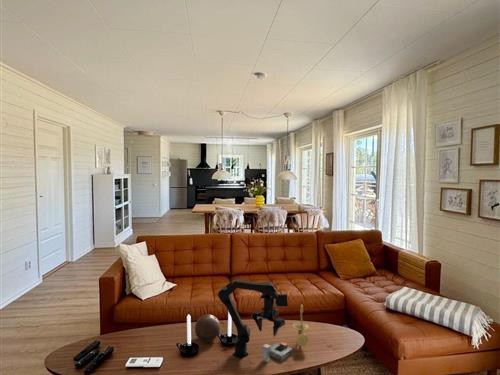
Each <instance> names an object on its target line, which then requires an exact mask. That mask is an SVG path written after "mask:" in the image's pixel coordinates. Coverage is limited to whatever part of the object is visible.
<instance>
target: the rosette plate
mask: <svg viewBox="0 0 500 375" xmlns="http://www.w3.org/2000/svg"><path fill="white" fill-rule="evenodd" d="M292 354H293V348H292V347H290V346H289V344H288V343H286V342H284V341H281V342H279V341H278V342H276V343H274V344H273V345H270V358H274V359H276V360H278V361H280V362H284V361H285V360H286V359H287V358H289V357H291V355H292Z"/></svg>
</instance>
